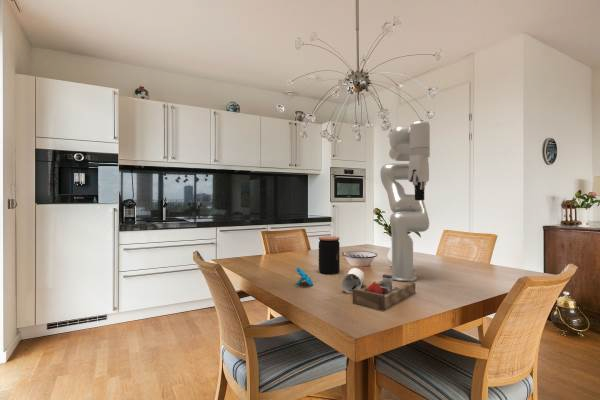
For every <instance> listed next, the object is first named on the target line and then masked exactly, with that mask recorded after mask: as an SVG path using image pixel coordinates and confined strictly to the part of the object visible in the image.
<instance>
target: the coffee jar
mask: <svg viewBox="0 0 600 400" xmlns="http://www.w3.org/2000/svg"><path fill="white" fill-rule="evenodd" d="M318 240H319V241H318V272H319V273H320V274H323V275H336V274H339V272H340V270H341V269H340V267H341V265H340V262H341V261H340V250H341V249H340V244H341V243H340V241H339V240H340V237H339V236H335V235H334V236H332V235H330V236H329V235H327V236H326V235H324V236H323V235H322V236H319V237H318Z"/></svg>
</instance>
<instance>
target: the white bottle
mask: <svg viewBox="0 0 600 400" xmlns="http://www.w3.org/2000/svg"><path fill="white" fill-rule="evenodd" d="M365 278H366V277H365V274H364V272H363V270H362V269H360V268H359V267H358V268H357V267H353V268H350V269H349V270H348V271H347V274H345V275H344V276H343V277H342V279H341V282H340V285H341V288H342V290H343V291H344V292H346V293H348V294H353V289H359V290H360V289H362V287H363V283H364V282H365ZM354 287H355V288H354ZM352 288H353V289H352ZM350 290H351V291H350Z"/></svg>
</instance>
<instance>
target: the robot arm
mask: <svg viewBox="0 0 600 400" xmlns="http://www.w3.org/2000/svg"><path fill="white" fill-rule="evenodd" d="M430 131H431V125H430V123H429V122H428V121H425V120H424V121H423V120H418V121H413V122H412V123H410V125H399V126H396V127H394V128H393V129H392V131H391V133H390V135H389V145H390V149H389V153H388V155H389V158H391V160H393V161H395V162H403V163H395V162H394V163H387V164H384V165H382V166H381V168H380V175H379V176H380V180H381V183H382V185H383V187H384V189H385V191H386V194H387V198H388V203H389V207H390V210H391V211H392V213H391V215H390V218H389V224H390V230H391V231H390V232H391V273H389V275H392V281H396V282H397V281H398V282H414V281H417V278H418V277H417V275H414V272H415V271H416V269H415V268H414V240H413V239H412V237H411V235H409V234H408V233H421V232H426V231H428V229H430V219H429V215H428V211H427V208H426V205H425V189H426V186H427V183H428V182H429V180H430V164H429V158H430V157H431V154H430V153H431V149H430V148H431V147H430V144H431V138H430V137H431V135H430ZM404 162H405V163H404ZM406 162H408V163H406ZM399 181H409V182H410V183H412V186H414V187H413V188H414V194H407V193H405V188H404V187H403V185H402V184H401V183H400V182H399ZM410 206H411V207H410Z"/></svg>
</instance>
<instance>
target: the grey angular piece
mask: <svg viewBox="0 0 600 400" xmlns="http://www.w3.org/2000/svg"><path fill="white" fill-rule="evenodd" d="M382 280H383V287H381V286H380V287H381V288H382V291H383V294H384V295H385V294H387V293H389V292H391V291H394V290H396V289H398V288H399V287H398V286H393V280H392V275H390V274H386V273H384V274H382Z"/></svg>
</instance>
